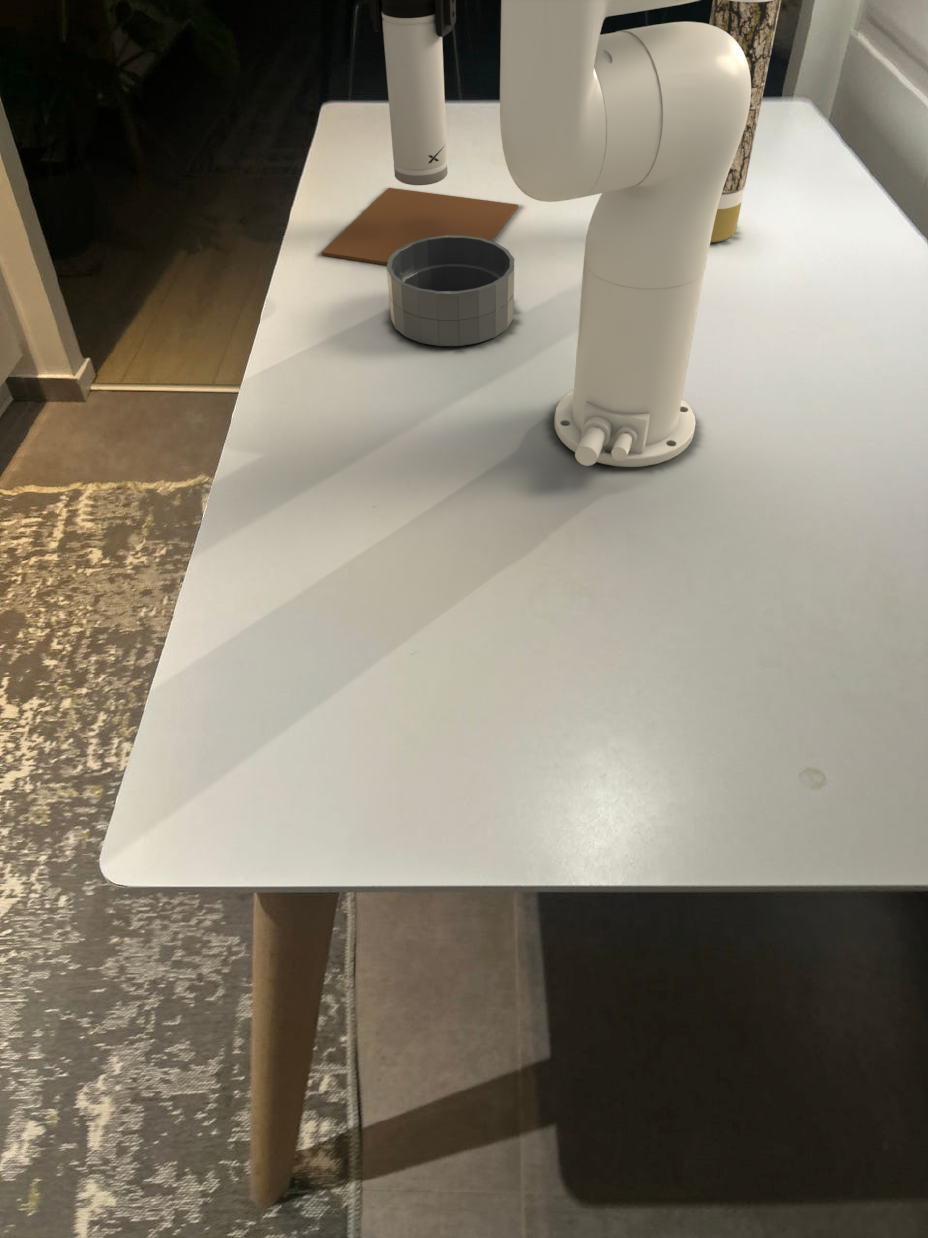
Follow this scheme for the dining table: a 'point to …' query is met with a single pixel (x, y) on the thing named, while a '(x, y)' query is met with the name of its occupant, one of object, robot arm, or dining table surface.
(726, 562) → the dining table surface
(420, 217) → the cork mat
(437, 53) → the travel mug
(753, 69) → the paper tube
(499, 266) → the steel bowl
